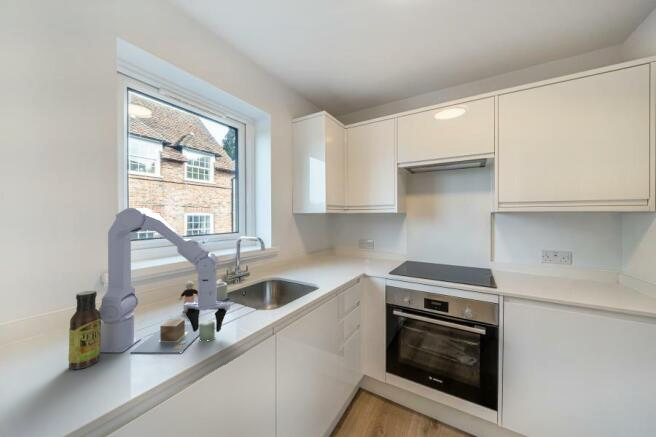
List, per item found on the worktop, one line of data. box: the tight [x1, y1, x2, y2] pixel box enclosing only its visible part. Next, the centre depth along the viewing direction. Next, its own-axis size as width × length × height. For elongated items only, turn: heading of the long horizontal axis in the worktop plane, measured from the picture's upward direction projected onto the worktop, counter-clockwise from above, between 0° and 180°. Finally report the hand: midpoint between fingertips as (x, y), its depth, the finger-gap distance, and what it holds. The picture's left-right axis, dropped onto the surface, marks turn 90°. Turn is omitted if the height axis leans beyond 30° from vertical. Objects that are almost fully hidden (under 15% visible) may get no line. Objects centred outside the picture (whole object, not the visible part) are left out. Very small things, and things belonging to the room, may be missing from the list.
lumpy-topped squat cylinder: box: [217, 278, 228, 302], centre depth 120 cm, size 10×13×9 cm
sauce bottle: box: [68, 290, 101, 370], centre depth 68 cm, size 6×6×20 cm
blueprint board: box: [130, 323, 201, 354], centre depth 82 cm, size 15×18×1 cm
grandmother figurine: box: [178, 280, 198, 313], centre depth 105 cm, size 8×4×13 cm, turn 143°
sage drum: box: [198, 320, 216, 342], centre depth 83 cm, size 5×5×5 cm
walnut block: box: [159, 318, 186, 341], centre depth 82 cm, size 5×5×5 cm
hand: (207, 330), depth 83 cm, fingers open, 7 cm apart
